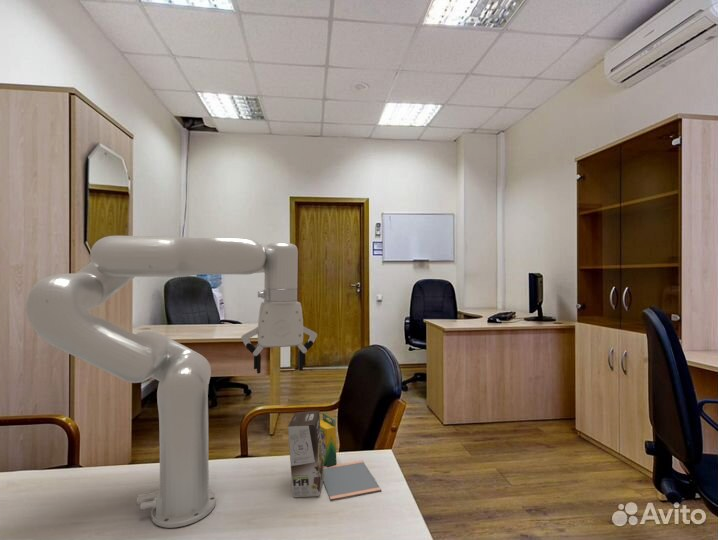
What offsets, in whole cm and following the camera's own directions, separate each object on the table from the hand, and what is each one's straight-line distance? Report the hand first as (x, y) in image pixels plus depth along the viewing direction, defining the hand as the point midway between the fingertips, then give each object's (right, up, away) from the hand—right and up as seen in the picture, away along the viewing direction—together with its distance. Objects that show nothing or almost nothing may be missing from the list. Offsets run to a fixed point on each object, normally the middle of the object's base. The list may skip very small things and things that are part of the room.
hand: (279, 370), depth 87 cm
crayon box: (+9, -28, +13) cm, 32 cm away
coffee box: (+7, -28, +2) cm, 29 cm away
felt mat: (+16, -28, +5) cm, 32 cm away
